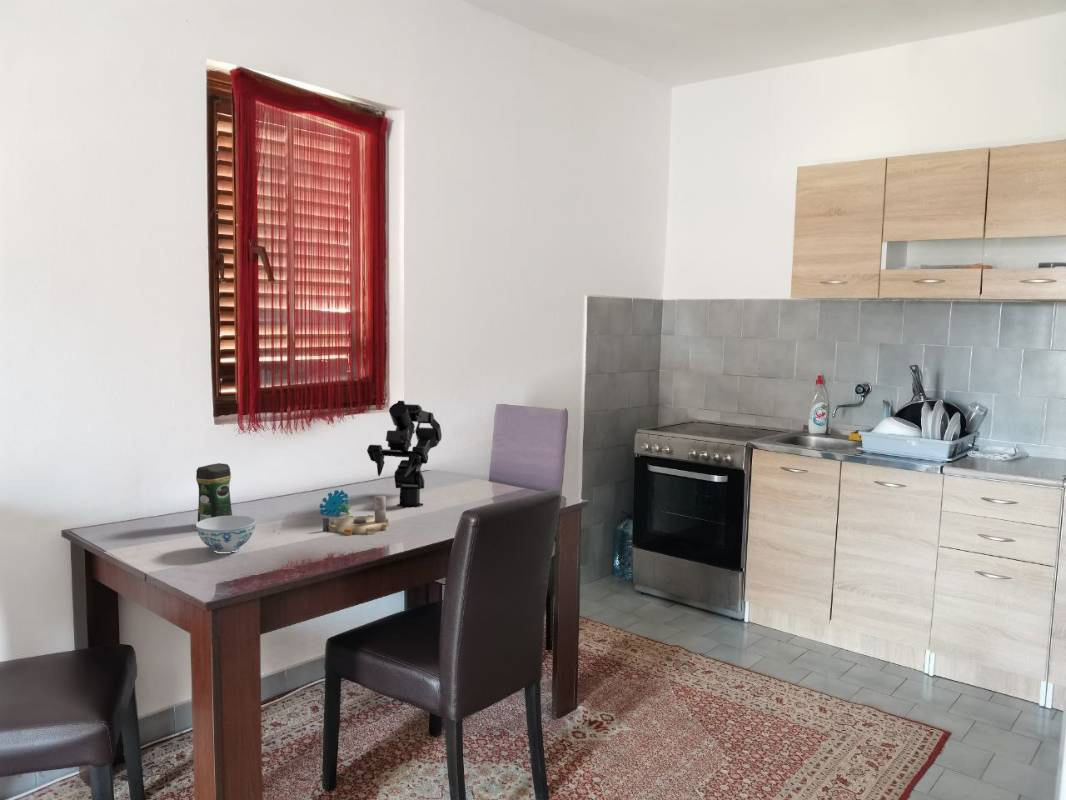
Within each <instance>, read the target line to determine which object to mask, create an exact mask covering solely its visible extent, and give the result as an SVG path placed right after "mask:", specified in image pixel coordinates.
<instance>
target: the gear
mask: <svg viewBox="0 0 1066 800" xmlns="http://www.w3.org/2000/svg"><path fill="white" fill-rule="evenodd" d="M327 496H328V498H327V497H323V498H322V499H321V502H322V503H320V504H319V506H318V507H319V508H320V509H319V513H320V514H321V515H323V517H327V516H328V517H334V515H335V514H336V516H339V515H340V514H341V513H344V514H346V515H351V513H350V512H349V510H350V509H351V508H350V506H349V505H347V504H348V503H349V502H350V501H349V499H348V497H349V494H348V493H345V492H344V490H343V489H342V490H340V491H339V490H338V489H337V490H336V489H335V490H334V492H333V493H332V492H329V493H327ZM323 503H325V504H323ZM343 503H344V504H346V505H344V504H343Z"/></svg>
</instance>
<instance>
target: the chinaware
mask: <svg viewBox="0 0 1066 800" xmlns="http://www.w3.org/2000/svg"><path fill="white" fill-rule="evenodd" d="M256 521H257V520H256V519H255V517H250V516H248V515H247V516H246V515H232V516H220V517H213V518H208V519H204V520H201V521H199V522H198V521H197V522H196V523H195V528H196V532H197V535H198V536H199V538H200V540H201V541H202V542H203V544H204V545H206V546H207V547H209V548H210V549H212V550H214V551H217V552H232V551H236V550H239V549H240V550H241V547H243V545H245V544H246V543H247V542H248V541H249V540H250V539H251V537H252V535H253V533H254V531H255V527H256V523H257V522H256ZM240 550H239V551H240Z"/></svg>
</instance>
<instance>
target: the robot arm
mask: <svg viewBox="0 0 1066 800" xmlns="http://www.w3.org/2000/svg"><path fill="white" fill-rule="evenodd" d="M388 410H389V411H388V412H389V415H390V418H391V420H392V423H393V425H394V427H395V430H389V429H388V430H387V431H386V437H385V441H386V442H387V447H388V448H389V449H383V447H382V444H369V445H368V447H367V450H366V451H367V454H368V456H369V457H368V458H369V459H370V461H372V462H374V463H375V464H376V468H377V471H376V472H377V476H378V477H380V476H381V474H382V472H383V468H384V466H385V457H394V458H407V459H402V460H401V461H400V463H399V464H398V465H397V469H396V470H395V471H394V475H393V476H394V477H393V478H394V484H395V489H399V503H397V504H396V506H397V507H400V506H402V507H401V508H406V507H407V508H406V509H408V508H409V509H410V508H412V507H414V508H417V507H416V506H418V507H421V506H424V503H422V502H420V499H421V498H420V497H421V496H420V495H421V489H422V490H423V489H425V477H424V476H423V473H422V466H423V465H426V464H427V463H428V461H429V451H431V449H433V448H436V447H437V446H438V445H439V443H440V442H441V440H442V435H443V434H442V430H441V429H442V427H441V424H440V423H439V422H438V421H437V420H436V419H435V417H434V413H433V412H431V411H426V410H423V408H422V406H421V405H420V404H410V403H407V404H406V403H405V401H404V400H397V402H396V403H394V404H392V405H391V406H390V407H389V409H388ZM415 423H417V424H416V427H415ZM421 424H429V425H430V427H421V426H420V425H421ZM413 434H415V436H416V440H417V443H416V445H415V446H413V447H412V438H413ZM410 447H412V450H409V449H410ZM420 505H421V506H420Z"/></svg>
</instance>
